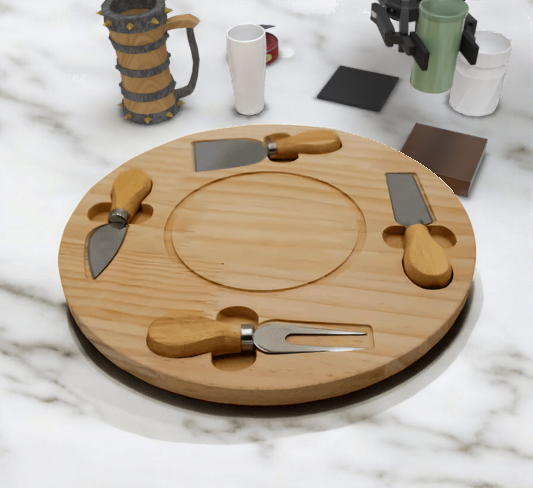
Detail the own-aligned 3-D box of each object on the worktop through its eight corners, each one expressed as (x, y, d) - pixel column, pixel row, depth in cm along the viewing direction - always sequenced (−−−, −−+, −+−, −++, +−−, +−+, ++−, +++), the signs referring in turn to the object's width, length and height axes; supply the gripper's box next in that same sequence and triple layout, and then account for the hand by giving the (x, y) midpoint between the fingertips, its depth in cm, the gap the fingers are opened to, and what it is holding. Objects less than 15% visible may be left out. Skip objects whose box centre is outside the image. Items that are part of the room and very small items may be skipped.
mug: (122, 91, 126) (100, -12, 112) (211, 87, 125) (200, -15, 111) (111, 129, 116) (86, 23, 102) (207, 126, 116) (195, 19, 102)
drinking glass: (244, 123, 116) (239, 45, 106) (224, 106, 121) (218, 30, 110) (275, 110, 119) (273, 34, 108) (255, 94, 123) (251, 19, 113)
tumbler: (460, 77, 100) (475, 1, 91) (445, 98, 96) (459, 21, 87) (418, 66, 102) (429, -9, 94) (401, 87, 98) (411, 10, 90)
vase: (487, 121, 114) (502, 59, 106) (440, 107, 118) (451, 46, 110) (504, 98, 119) (520, 37, 111) (459, 85, 123) (471, 25, 115)
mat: (398, 79, 125) (399, 77, 125) (378, 112, 118) (378, 109, 117) (340, 67, 129) (340, 65, 129) (317, 98, 122) (317, 95, 121)
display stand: (484, 153, 108) (488, 138, 106) (467, 197, 100) (470, 181, 98) (413, 137, 112) (415, 122, 110) (392, 177, 104) (394, 162, 102)
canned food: (236, 84, 135) (209, 44, 129) (251, 56, 141) (227, 16, 135) (281, 69, 128) (255, 26, 123) (295, 40, 134) (271, -2, 128)
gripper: (452, 6, 111) (510, 75, 94) (340, 18, 109) (380, 90, 92) (459, -39, 105) (523, 26, 89) (343, -27, 103) (386, 41, 87)
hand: (450, 59), depth 91 cm, fingers closed on tumbler, 6 cm apart
